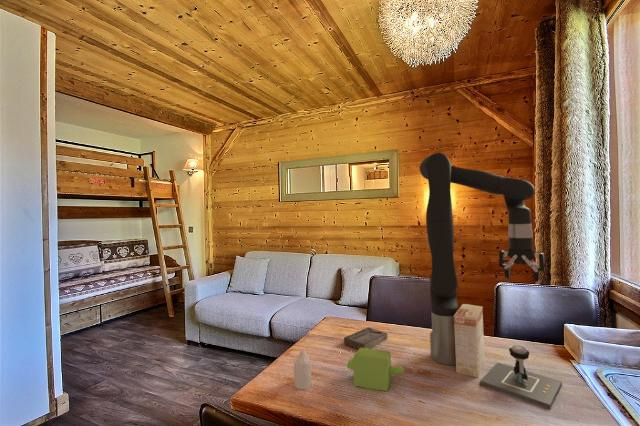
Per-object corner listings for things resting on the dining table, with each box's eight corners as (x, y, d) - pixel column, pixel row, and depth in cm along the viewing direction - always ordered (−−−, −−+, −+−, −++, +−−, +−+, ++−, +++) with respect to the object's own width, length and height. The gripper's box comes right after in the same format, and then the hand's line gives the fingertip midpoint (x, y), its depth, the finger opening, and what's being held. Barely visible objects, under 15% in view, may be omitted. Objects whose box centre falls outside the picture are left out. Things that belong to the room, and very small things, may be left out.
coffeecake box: (464, 355, 119) (462, 303, 119) (485, 359, 115) (483, 306, 114) (455, 372, 106) (452, 314, 106) (478, 378, 102) (476, 318, 102)
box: (343, 344, 132) (343, 337, 132) (367, 333, 144) (367, 326, 144) (364, 352, 124) (364, 344, 124) (388, 339, 136) (388, 332, 136)
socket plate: (480, 384, 99) (480, 380, 99) (497, 365, 110) (497, 362, 110) (550, 409, 86) (550, 404, 86) (562, 385, 97) (561, 381, 97)
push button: (535, 387, 94) (534, 354, 94) (515, 386, 95) (514, 353, 95) (526, 376, 100) (524, 344, 100) (507, 374, 101) (506, 343, 101)
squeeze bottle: (292, 345, 105) (308, 343, 106) (293, 381, 105) (310, 378, 106) (293, 352, 99) (311, 350, 100) (295, 390, 99) (312, 388, 100)
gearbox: (405, 379, 104) (405, 350, 105) (402, 394, 95) (402, 362, 95) (352, 370, 111) (352, 343, 111) (345, 384, 101) (344, 354, 102)
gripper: (495, 236, 117) (497, 279, 117) (541, 237, 107) (542, 285, 107) (502, 234, 123) (503, 276, 123) (546, 235, 112) (548, 281, 112)
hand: (522, 280), depth 115 cm, fingers open, 8 cm apart
